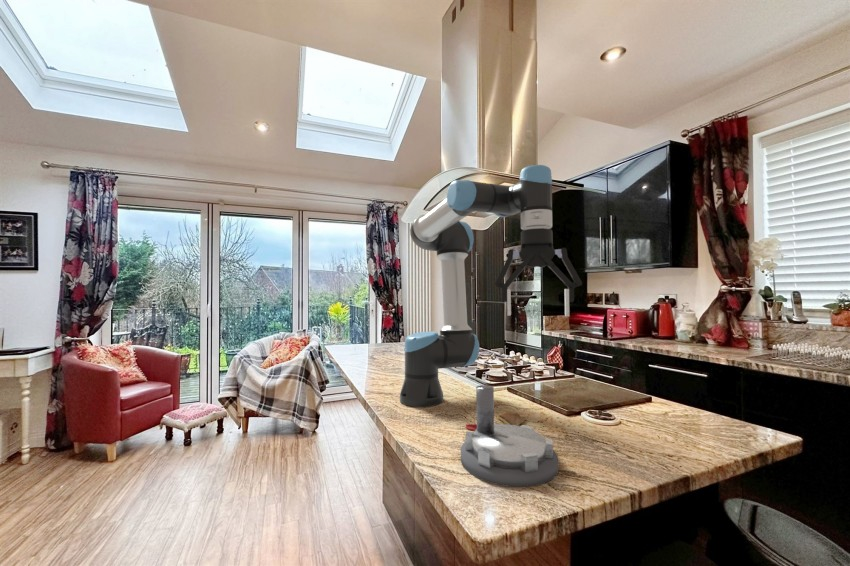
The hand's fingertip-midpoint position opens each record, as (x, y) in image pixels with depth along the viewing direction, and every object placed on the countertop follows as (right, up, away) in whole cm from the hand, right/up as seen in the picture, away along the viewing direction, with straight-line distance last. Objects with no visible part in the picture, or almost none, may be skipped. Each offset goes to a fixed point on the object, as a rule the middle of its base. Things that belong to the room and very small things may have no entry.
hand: (537, 315), depth 88 cm
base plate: (-9, -32, -9) cm, 34 cm away
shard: (-1, -33, +15) cm, 36 cm away
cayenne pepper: (-13, -33, +9) cm, 36 cm away
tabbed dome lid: (-9, -29, -9) cm, 32 cm away
